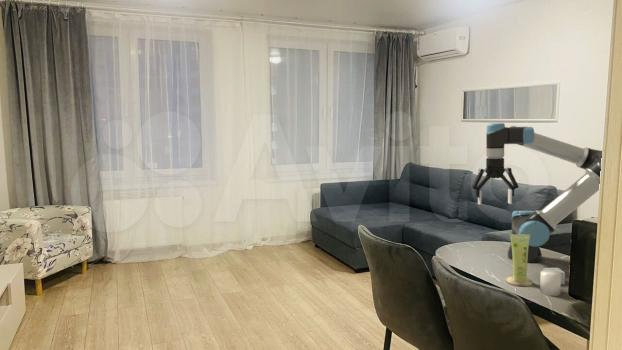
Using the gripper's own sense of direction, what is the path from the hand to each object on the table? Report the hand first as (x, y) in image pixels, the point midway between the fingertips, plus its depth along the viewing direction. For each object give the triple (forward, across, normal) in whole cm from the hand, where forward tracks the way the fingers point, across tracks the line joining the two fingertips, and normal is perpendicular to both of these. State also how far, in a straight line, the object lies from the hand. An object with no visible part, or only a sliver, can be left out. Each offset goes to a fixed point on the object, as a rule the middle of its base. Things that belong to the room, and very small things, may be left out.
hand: (494, 204), depth 208 cm
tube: (+28, -2, +23) cm, 36 cm away
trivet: (+29, -2, +23) cm, 37 cm away
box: (+29, -16, +23) cm, 40 cm away
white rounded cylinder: (+29, -9, +35) cm, 46 cm away
